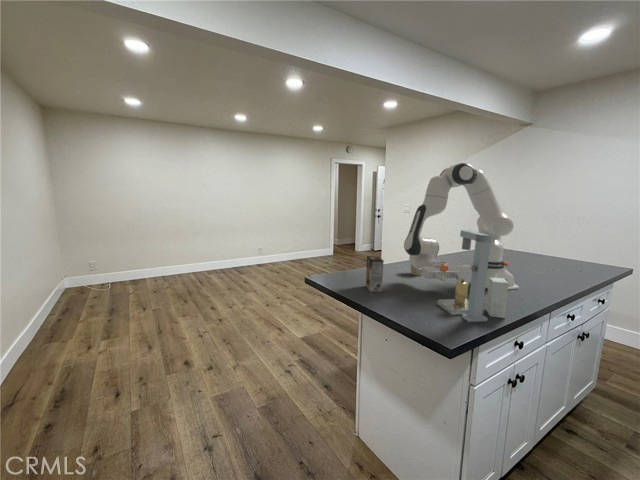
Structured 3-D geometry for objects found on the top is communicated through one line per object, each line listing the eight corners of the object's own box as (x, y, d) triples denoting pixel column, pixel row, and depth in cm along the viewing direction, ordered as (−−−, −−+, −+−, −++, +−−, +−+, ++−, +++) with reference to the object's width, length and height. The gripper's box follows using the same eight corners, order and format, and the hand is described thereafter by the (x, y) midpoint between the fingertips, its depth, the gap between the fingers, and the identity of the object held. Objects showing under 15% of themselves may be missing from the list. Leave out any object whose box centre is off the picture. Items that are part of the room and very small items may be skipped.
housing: (462, 302, 131) (464, 277, 129) (468, 306, 127) (471, 280, 125) (452, 302, 131) (454, 277, 129) (458, 306, 126) (460, 280, 124)
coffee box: (365, 285, 157) (366, 255, 154) (377, 285, 158) (378, 255, 155) (369, 291, 148) (371, 260, 145) (382, 291, 149) (384, 260, 146)
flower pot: (425, 277, 175) (426, 262, 173) (409, 275, 177) (410, 261, 175) (423, 272, 184) (424, 259, 182) (407, 271, 186) (408, 258, 184)
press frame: (465, 306, 132) (473, 230, 126) (487, 321, 117) (498, 235, 111) (448, 307, 131) (455, 230, 125) (468, 321, 116) (478, 235, 110)
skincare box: (505, 319, 120) (510, 283, 117) (488, 316, 122) (492, 281, 119) (500, 311, 127) (505, 277, 125) (484, 309, 129) (488, 276, 127)
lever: (471, 270, 117) (472, 262, 117) (476, 273, 114) (477, 265, 113) (437, 271, 115) (438, 263, 115) (441, 273, 112) (442, 265, 112)
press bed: (466, 303, 136) (466, 298, 135) (483, 314, 124) (484, 309, 124) (437, 303, 134) (437, 299, 134) (452, 315, 122) (452, 310, 122)
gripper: (416, 262, 146) (435, 272, 134) (450, 262, 153) (470, 272, 140) (414, 274, 148) (432, 285, 135) (447, 273, 155) (467, 284, 142)
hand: (452, 279), depth 138 cm, fingers open, 8 cm apart
